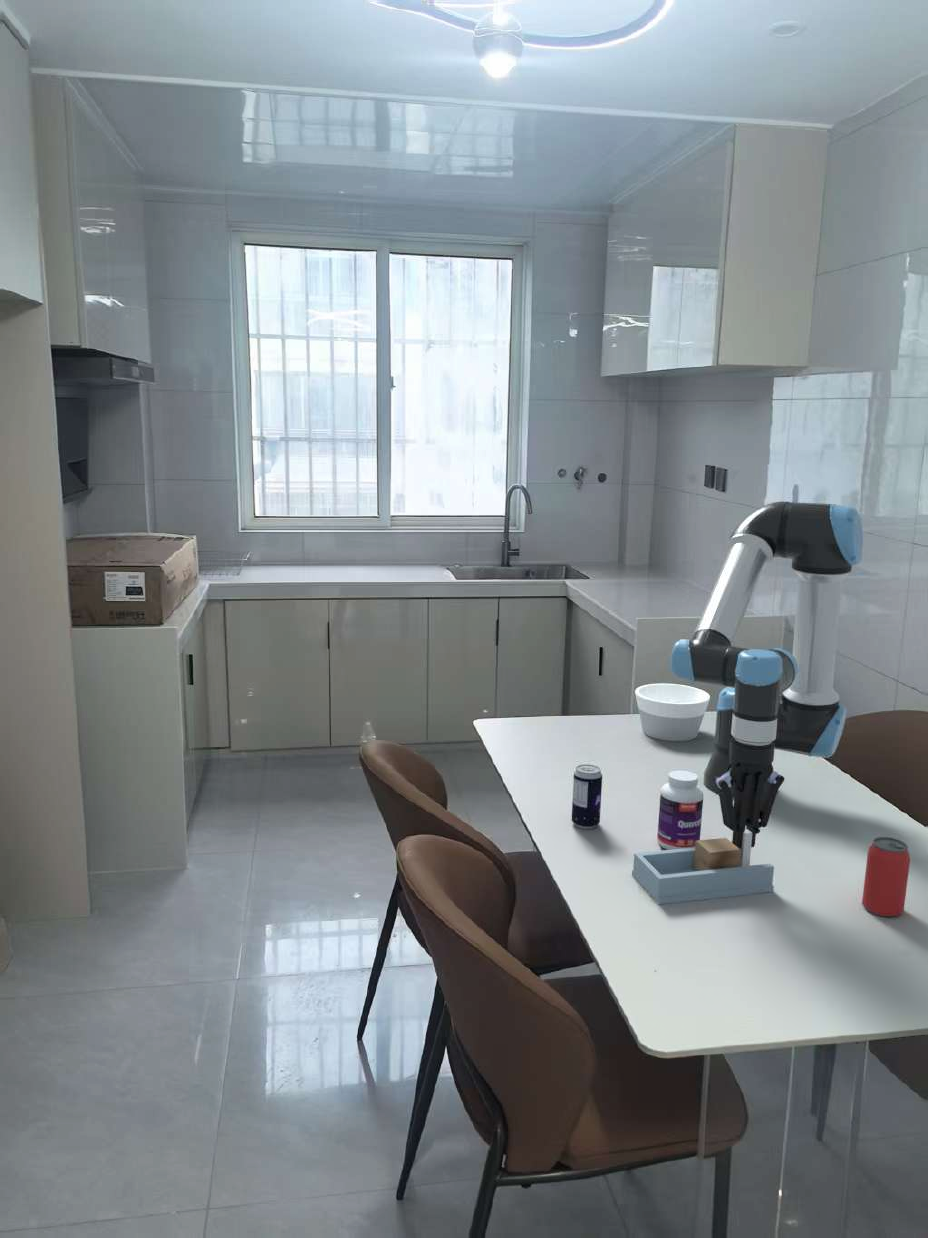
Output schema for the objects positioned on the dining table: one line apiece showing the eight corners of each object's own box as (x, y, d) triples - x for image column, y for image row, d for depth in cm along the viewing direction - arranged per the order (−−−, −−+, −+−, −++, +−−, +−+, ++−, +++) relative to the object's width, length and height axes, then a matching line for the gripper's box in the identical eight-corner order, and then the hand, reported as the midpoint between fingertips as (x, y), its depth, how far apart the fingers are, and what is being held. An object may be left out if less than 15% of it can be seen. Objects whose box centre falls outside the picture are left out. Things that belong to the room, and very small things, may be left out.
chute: (740, 863, 181) (742, 841, 180) (773, 891, 171) (775, 867, 170) (631, 875, 176) (633, 852, 175) (658, 904, 165) (660, 880, 164)
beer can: (900, 922, 161) (908, 855, 159) (858, 911, 165) (865, 845, 162) (906, 906, 167) (914, 841, 164) (865, 895, 170) (873, 831, 168)
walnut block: (723, 868, 177) (726, 837, 176) (737, 881, 172) (740, 849, 171) (693, 871, 175) (695, 840, 174) (707, 884, 171) (709, 852, 169)
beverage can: (598, 831, 194) (601, 775, 191) (570, 828, 195) (572, 772, 192) (600, 820, 199) (603, 765, 197) (572, 817, 200) (575, 762, 198)
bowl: (632, 741, 249) (635, 701, 246) (632, 718, 267) (635, 681, 265) (709, 747, 246) (713, 706, 243) (704, 724, 264) (707, 685, 262)
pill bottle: (677, 858, 183) (682, 786, 180) (648, 842, 189) (652, 772, 186) (708, 849, 187) (714, 778, 184) (678, 834, 194) (683, 765, 191)
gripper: (773, 729, 175) (762, 851, 180) (708, 734, 172) (698, 858, 176) (798, 743, 168) (785, 869, 173) (730, 748, 164) (719, 877, 169)
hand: (741, 863), depth 175 cm, fingers closed
